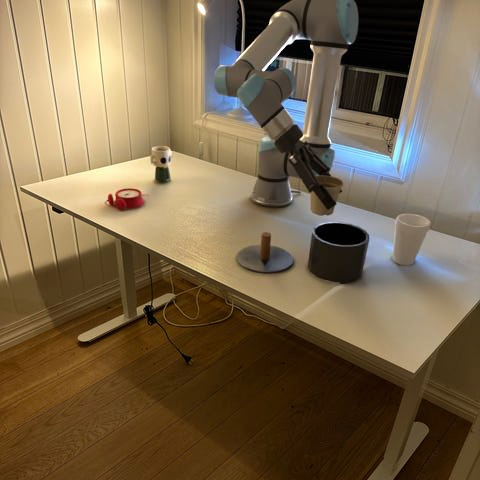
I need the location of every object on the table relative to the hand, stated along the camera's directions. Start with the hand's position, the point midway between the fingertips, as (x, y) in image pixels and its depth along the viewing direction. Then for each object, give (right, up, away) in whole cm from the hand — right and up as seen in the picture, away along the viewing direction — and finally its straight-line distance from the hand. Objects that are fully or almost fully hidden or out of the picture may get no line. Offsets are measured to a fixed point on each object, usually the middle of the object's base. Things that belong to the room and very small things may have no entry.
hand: (335, 200), depth 131 cm
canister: (+2, -18, +9) cm, 20 cm away
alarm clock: (-67, +9, +43) cm, 80 cm away
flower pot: (-3, -3, +3) cm, 5 cm away
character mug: (-57, +23, +64) cm, 89 cm away
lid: (-19, -14, +12) cm, 26 cm away
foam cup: (+24, -14, +16) cm, 32 cm away
